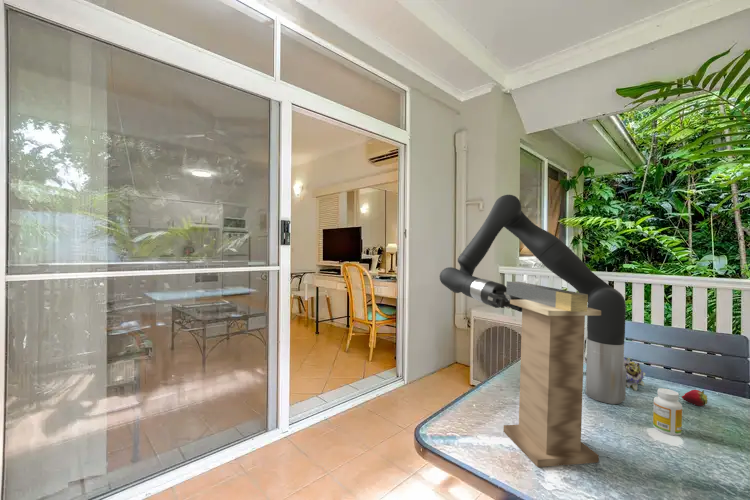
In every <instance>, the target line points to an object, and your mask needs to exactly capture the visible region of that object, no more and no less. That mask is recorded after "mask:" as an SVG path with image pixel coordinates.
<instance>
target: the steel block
mask: <svg viewBox="0 0 750 500" xmlns="http://www.w3.org/2000/svg"><path fill="white" fill-rule="evenodd" d="M506 288H507V289H506V294H507V295H511V296H515V297H518V298H522V299H526V300H529V301H533V302H537V303H541V304H544V305H548V306H552V307H555V308H559V309H562V310H566V311H570V312H587V307H588V302H587V301H588V294H583V293H579V292H578V291H577V292H576V291H572V290H566V289H562V288H561V289H560V288H554V287H549V286H544V285H538V284H533V283H527V282H522V281H506Z"/></svg>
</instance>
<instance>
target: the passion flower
mask: <svg viewBox="0 0 750 500" xmlns="http://www.w3.org/2000/svg"><path fill="white" fill-rule="evenodd" d="M640 365H641V364H640V363H639V362H637V363H635V361H633V360H631V358H630V357H624V368H625V369H626V389H629V388H630V389H631V390H633V391H634V392H636V391H637V390H638V385H640V386H642V387H645V383H644V381H645V376H646V372H644V371H643V370H642V369H641V366H640Z"/></svg>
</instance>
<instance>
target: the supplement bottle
mask: <svg viewBox="0 0 750 500" xmlns="http://www.w3.org/2000/svg"><path fill="white" fill-rule="evenodd" d="M679 398H680V394H679V392H677V391H675V390H672V389H668V388H663V387H662V388H660V387H659V388H657V396H655V397H654V398H653V411H652V415H653V416H652V426H653V428H654V429H656V430H657V431H658V432H661V433H663V434H667V435H669V436H681V435H682V432H683V431H682V427H683V426H682V425H683V405H682V403H681V402H680V401H679V400H680V399H679Z"/></svg>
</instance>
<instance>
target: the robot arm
mask: <svg viewBox="0 0 750 500" xmlns="http://www.w3.org/2000/svg"><path fill="white" fill-rule="evenodd" d="M503 229H506V230H508V232H510V233H511V234H512V235H514V236H515V237H516V238H517V239H518V240H520V242H521V243H522V244H523V245H524V246H525V247H526V248H527V250H528V251H529V252H530V253H531V254H532V255H533V256H534V257H535V258H536V259H537V260H538V261H539V262H540V263H541V264H542V265H544V267H546V268H547V269H548V270H549V271H551V273H554V275H556V276H557V277H558V278H560V279H562V281H564V282H566V283H567V284H569V285H570V286H571V287H573V288H574V289H575V290H576V291H577V293H583V294H588V301H587V307H588V308H592V309H596V310H601V315H599V316H586V318H587V319H586V320H587V322H586V323H587V324H586V331H587V334H586V335H587V338H586V339H587V341H586V371H585V372H586V373H585V395H586V396H587V397H588V398H591V399H593V400H595V401H598V402H601V403H604V404H605V403H606V404H610V405H611V404H613V405H616V404H617V405H618V404H622V403H623V402H625V401H626V396H627V395H626V394H627V393H626V392H627V387H626V369H625V368H624V358H625V340H626V339H625V337H626V318H627V317H626V315H627V314H626V313H627V312H626V311H627V308H626V307H627V306H626V300H625V299H626V298H625V297H624V296H623V294H622V293H621V292H620V291H619V290H618V289H615V288H614V287H613V286H611V285H609V284H608V283H607V282H606V281H604V280H603V279H601V278H600V277H599V276H598V275H596V274H595V273H594V272H593V271H592V270H590V269H589V267H588V266H587V265H586V263H584V261H583V260H582V259H581V258H579V256H578V255H577V254H576V253H575V252H574V251H573V250H572V249H571V248H570V247H569V246H568V245H566V244H565V243H564V241H563V242H562V240H561V239H560V238H559V237H557V236H556V235H554V234H552V233H550V232H549V231H547V230H546V229H543V228H541V227H539V225H536V224H535V223H534V222H532V221H531V219H529V217H528V216H527V215H526V214H525V213H524V212H523V211H522V204H521V201H520V199H519V198H518V197H517V196H515V195H513V194H504V195H502V196H500V197H498V198H497V199H496V201H495V202H494V204H493V206H492V208H491V210H490V211H489V214H488V215H487V217H486V219H485V220H484V222H483V223H482V226H481V227H480V229H478V231H477V232H476V233H475V235H474V236H473V238H472V239H471V240H470V242H469V243H468V244H467V245H466V247H465V248H464V250H462V252H461V254H460V255H459V256H458V258H457V263H458V264H459V266H460V268H459V269H458V268H455V267H452V266H450V267H446V268H444V269H442V270H441V271H440V274H439V281H440V283H441V284H442V285H443V286H445V288H447V289H448V290H450V291H451V292H453V293H455V294H460V293H461V294H464V296H467V297H468V298H472V299H474V300H476V301H478V302H480V303H482V304H485V305H488V306H489V307H493V308H499V309H500V308H501V309H504V308H506V309H512V310H515V311H517V312H520V313H522V307H519V306H516V305H513V304H510V300H526V299H522V298H518V297H515V296H511V295H507V294H506V289H507V285H505V284H503V283H500V282H497V281H493V280H490V279H486V278H481V277H477V276H474V273H475V272H474V271H475V270H476V268H477V267H478V265H479V264H480V263H481V261H482V260H483V259H484V257H486V255H487V253H488V251H490V250H489V249H490V248H491V247H492V244H493V243H494V241H495V239H496V238H497V236H498V235H499V233H500V232H501V231H502V230H503Z"/></svg>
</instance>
